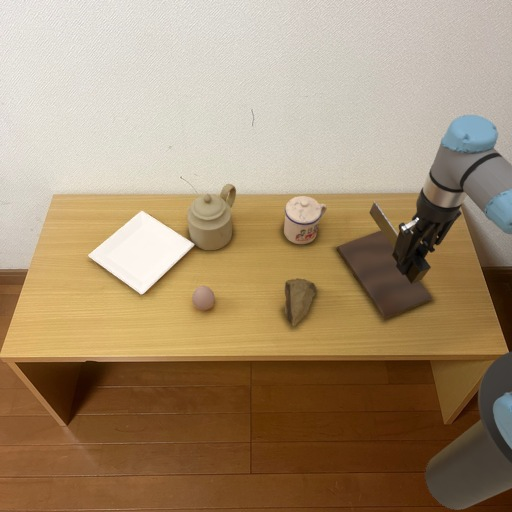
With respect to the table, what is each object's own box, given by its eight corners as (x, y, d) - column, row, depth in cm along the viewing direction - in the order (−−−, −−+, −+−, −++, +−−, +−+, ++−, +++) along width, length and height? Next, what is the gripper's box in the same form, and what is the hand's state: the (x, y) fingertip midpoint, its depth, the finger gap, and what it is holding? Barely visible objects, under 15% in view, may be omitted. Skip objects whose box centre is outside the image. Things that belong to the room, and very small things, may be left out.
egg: (189, 311, 111) (186, 295, 105) (198, 293, 113) (196, 277, 108) (210, 317, 110) (208, 302, 104) (218, 299, 112) (217, 284, 107)
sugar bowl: (197, 205, 130) (192, 164, 118) (237, 209, 129) (236, 168, 117) (185, 248, 121) (178, 208, 109) (228, 253, 121) (226, 213, 108)
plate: (195, 248, 121) (195, 243, 120) (143, 299, 112) (141, 294, 111) (142, 214, 128) (141, 209, 126) (89, 259, 119) (87, 255, 117)
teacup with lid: (295, 251, 121) (299, 221, 112) (276, 227, 126) (278, 197, 116) (333, 232, 125) (340, 201, 116) (313, 209, 130) (318, 178, 120)
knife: (364, 214, 113) (370, 199, 108) (374, 210, 113) (381, 196, 109) (411, 284, 104) (420, 271, 99) (421, 279, 104) (431, 267, 100)
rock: (309, 270, 115) (272, 281, 111) (327, 269, 107) (288, 281, 103) (320, 313, 115) (283, 326, 112) (338, 316, 107) (300, 329, 104)
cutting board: (430, 300, 113) (432, 297, 112) (384, 319, 110) (385, 316, 109) (380, 233, 125) (381, 230, 124) (336, 249, 122) (337, 246, 120)
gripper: (464, 168, 91) (426, 243, 110) (394, 192, 87) (367, 266, 106) (491, 195, 87) (447, 268, 106) (418, 222, 83) (386, 293, 102)
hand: (407, 267), depth 106 cm, fingers closed on knife, 3 cm apart
